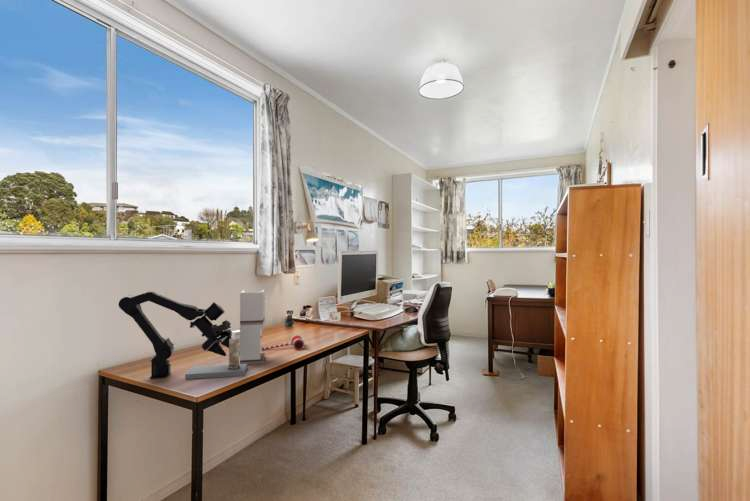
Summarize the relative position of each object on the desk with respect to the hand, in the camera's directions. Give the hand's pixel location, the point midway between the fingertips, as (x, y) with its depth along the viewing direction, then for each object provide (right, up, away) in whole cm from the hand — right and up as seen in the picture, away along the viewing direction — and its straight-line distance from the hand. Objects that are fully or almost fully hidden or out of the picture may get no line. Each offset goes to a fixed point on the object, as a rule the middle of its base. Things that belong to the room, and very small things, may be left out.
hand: (230, 352), depth 168 cm
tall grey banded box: (+4, -9, +18) cm, 21 cm away
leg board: (-5, -9, -1) cm, 10 cm away
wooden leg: (+2, -9, 0) cm, 9 cm away
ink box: (-8, -9, +34) cm, 36 cm away
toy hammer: (+16, -10, +41) cm, 45 cm away
